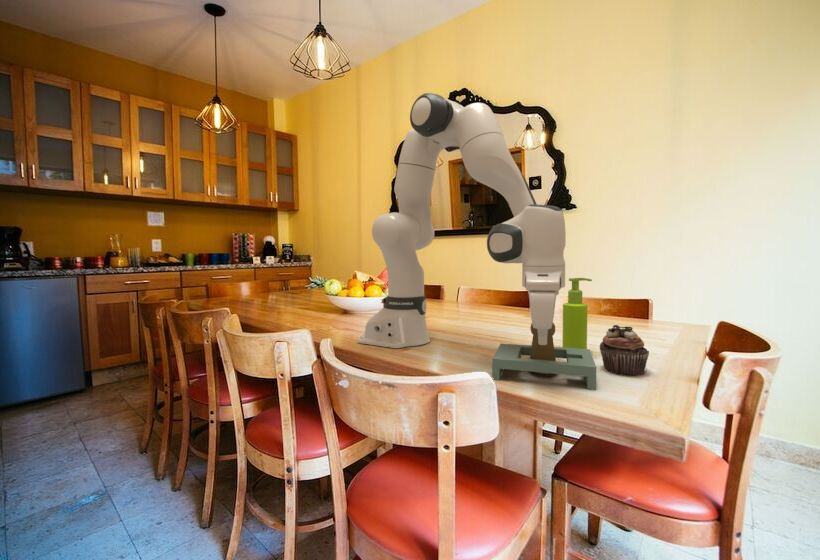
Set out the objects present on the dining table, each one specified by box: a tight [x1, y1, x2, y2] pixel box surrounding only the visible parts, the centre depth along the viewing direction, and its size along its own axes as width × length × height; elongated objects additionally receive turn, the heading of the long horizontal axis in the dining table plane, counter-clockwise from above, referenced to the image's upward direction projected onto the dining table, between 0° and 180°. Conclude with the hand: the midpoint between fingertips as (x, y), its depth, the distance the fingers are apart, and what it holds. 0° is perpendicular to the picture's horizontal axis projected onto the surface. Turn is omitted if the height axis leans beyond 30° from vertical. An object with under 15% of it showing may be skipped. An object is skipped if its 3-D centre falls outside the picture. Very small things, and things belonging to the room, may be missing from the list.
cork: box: [529, 322, 557, 375], centre depth 83 cm, size 6×6×11 cm
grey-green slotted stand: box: [491, 342, 597, 391], centre depth 83 cm, size 20×14×4 cm
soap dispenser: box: [562, 277, 593, 349], centre depth 98 cm, size 6×7×20 cm
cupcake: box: [599, 324, 650, 377], centre depth 84 cm, size 10×10×10 cm
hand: (542, 341), depth 83 cm, fingers closed on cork, 4 cm apart
